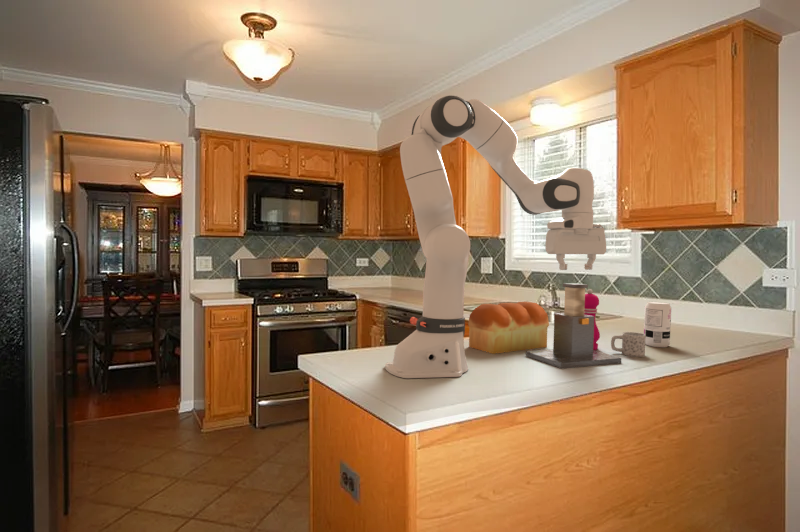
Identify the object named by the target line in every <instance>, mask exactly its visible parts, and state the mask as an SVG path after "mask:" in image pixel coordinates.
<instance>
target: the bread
mask: <svg viewBox="0 0 800 532" xmlns="http://www.w3.org/2000/svg"><path fill="white" fill-rule="evenodd" d="M549 321H550V320H549V315H548V313H547V312H546V311H545V309H544V308H543V307H542V306H541V305H540V304H538V303H537V302H532V301H518V302H499V303H498V304H496V303H495V304H494V303H481V304H480V305H478V306H477V307H475V308H473V310H472V312H471V313H470V314H469V317H468V323H467V325H468V327H469V331H468V332H469V333H468V334H469V335H468V347H469V348H472V349H474V348H475V350H479V351H481V350H482V352H485V351H486V352H485V353H488V352H489V354H492V355H496V353H497V354H503V353H504V352H505V353H510V352H520V351H527V350H533V349H542V348H547V347H548V327H550V323H549Z"/></svg>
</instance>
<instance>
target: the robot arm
mask: <svg viewBox="0 0 800 532" xmlns="http://www.w3.org/2000/svg"><path fill="white" fill-rule="evenodd" d="M413 122H414V123H413V124H412V129H411V133H410V135H409V136H407V137H406V138H404V140H402V142H401V144H400V147H399V153H400V154H399V155H400V162H401V163H400V164H401V170H402V175H403V178H404V182H405V185H406V189H407V192H408V196H409V198H410V203H411V207H412V210H413V215H414V221H415V223H416V230H417V234H418V238H419V243H420V246H421V251H422V253H423V256H424V257H425V258H426V260H425V261H426V262H425V274H424V281H423V286H422V315H421V316H420V317H419V318H417V317H415V316H412V317H410V319H409V323H410V324H411V325H413V326H415V328H416V329H415V330H414V331H412V333H410V334H409V335H408V336H407V337H405V338H404V339H402V340H401V342H399V343H398V344H397V345H396V347H395V349H394V354H393V360H392V361H389V362H386V363H385V364H384V365H385V367H384V369H385V370H386V372H388V373H389V374H391V375H393V376H395V377H398V378H403V379H424V378H425V379H426V378H430V379H431V378H455V377H456V378H457V377H461V376H462V375H463V374H464V373H467V371H468V370H469V366H468V362H467V358H466V351H465V341H464V339H465V338H464V337H465V333H466V332H465V331H466V317H464V310H465V309H464V308H465V305H464V303H465V287H466V281H467V280H466V279H467V274H468V273H467V272H468V267H469V259H470V251H471V241H470V240H471V239H470V237H469V235H468V233H467V231H465V229H464V228H462V227H461V226H460V225H457V221H456V216H455V209H454V197H453V193H452V190H451V186H450V183H449V180H448V176H447V175H448V174H447V172H446V169H445V165H444V162H443V159H442V148H443V147H444V146H445V145H448V144H450V143H452V142H454V141H455V140H456V139H458V138H460V139H463V140H465V141H466V142H468V143H469V145H470V146H472V148H473V149H474V150H475V151H477V153H479V154H480V156H482V157H483V158H484V160H485V161H487V163H488V165H489V166H490V167H491V168H492V171H494V172H495V174H496V175H497V176H498V177H499V178H500V179H501V180H502V182H504V184H505V185H506V187H508V188H509V189H510V190H511V191H512V192H513V194H514V195H515V197H516V199H517V201H518V204H519V206H520V208H521V210H523V212H525V213H527V214H529V215H531V216H536V215H540V214H544V213H551V212H557V211H561V217H559V218H556V219H553V220H550V221H548V222H547V224H546V227H547V229H548V230H547V232H546V235H545V252H546V254H547V255H555V257H556V260H557V262H558V264H559V270H560V271H567V270H568V263H566V262H565V260H564V259H566V255H586V257H587V261H586V263H584V265H583V266H584V267H583V268H584V270H586V271H587V270H590V271H592V270H593V264H594V263H595V260H596V259H597V255H605V254H606V252H607V239H606V234H605V233H606V232H605V228H604V227H603V225H602V224H599V223H594V209H593V201H594V198H595V197H594V196H595V186H594V178H593V173H592V172H591V171H590V170H589V169H587V168H584V167H567V168H566V169H565V170H564V171H563V172H560V173H559V174H557V175H555V176H552V177H550V178H546V179H543V180H540V181H539V180H534V179H531V178H530V177H529V176H528V175H527V173H525V171H524V170H523V169H522V168H521V167H520V166H519V165H518V164H517V162H516V161H515V158H514V153H516V150H517V147H518V136H517V134H516V132H515V131H514V129H513V127H512V126H511V125H510V124H509V123H508V122H507V121H506V120H505V119H504V118H503V117H502V116H500V114H499V113H497V112H496V111H495V110H494V109H492V108H491V107H490V106H488V105H487V104H485V103H484V102H483V101H481V100H480V99H476V98H473V99H468V100H465V99H464V98H461V97H460V96H458V95H445V96H443V97H441V98H439V99H437V100H436V101H435V102H434V103H432V104H431V105H429V106H428V107H426V108H425V109H424V110H423V111H422V112H421V114H420V115H418V116H417V117H416V119H415V120H414V121H413Z"/></svg>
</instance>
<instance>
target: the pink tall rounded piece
mask: <svg viewBox="0 0 800 532" xmlns="http://www.w3.org/2000/svg"><path fill="white" fill-rule="evenodd" d="M586 292H587V293H585V307H584V314H585V315H590V316H594V341H593V350H595V351H597V350H598V349H599V343H598V341H599V340H600V337H601V335H600V329H599V327H598V325H597V321H596V314H597V313H598V308H597V307H598V306H599V305H600V299H599V297H598V296H597V295H596V294H593V293H594V292H593V289H592V288H587V291H586Z"/></svg>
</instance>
